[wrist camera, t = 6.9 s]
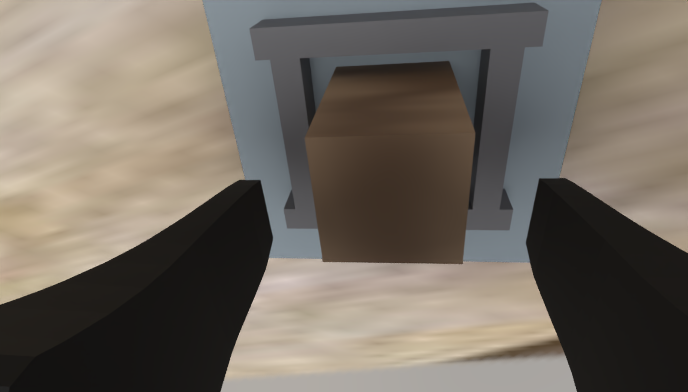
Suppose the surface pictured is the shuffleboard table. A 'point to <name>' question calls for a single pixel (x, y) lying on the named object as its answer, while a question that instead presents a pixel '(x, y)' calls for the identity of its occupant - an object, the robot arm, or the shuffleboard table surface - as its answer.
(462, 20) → the board
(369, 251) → the block
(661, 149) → the shuffleboard table surface
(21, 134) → the shuffleboard table surface
